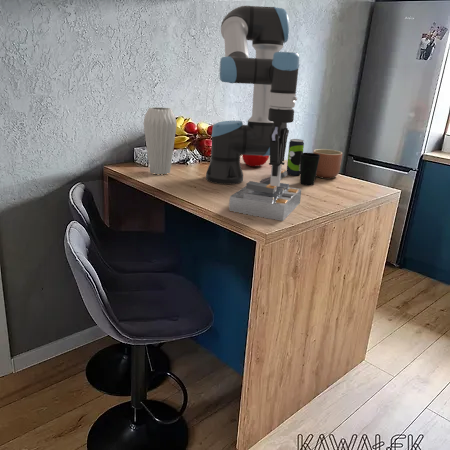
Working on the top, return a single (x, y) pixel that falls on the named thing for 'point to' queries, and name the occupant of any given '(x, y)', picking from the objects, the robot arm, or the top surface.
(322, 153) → the planter
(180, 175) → the top surface
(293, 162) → the beverage can
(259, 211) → the switch unit
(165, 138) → the vase
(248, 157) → the tomato
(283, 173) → the switch
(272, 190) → the switch
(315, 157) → the cup
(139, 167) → the top surface
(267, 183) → the switch
